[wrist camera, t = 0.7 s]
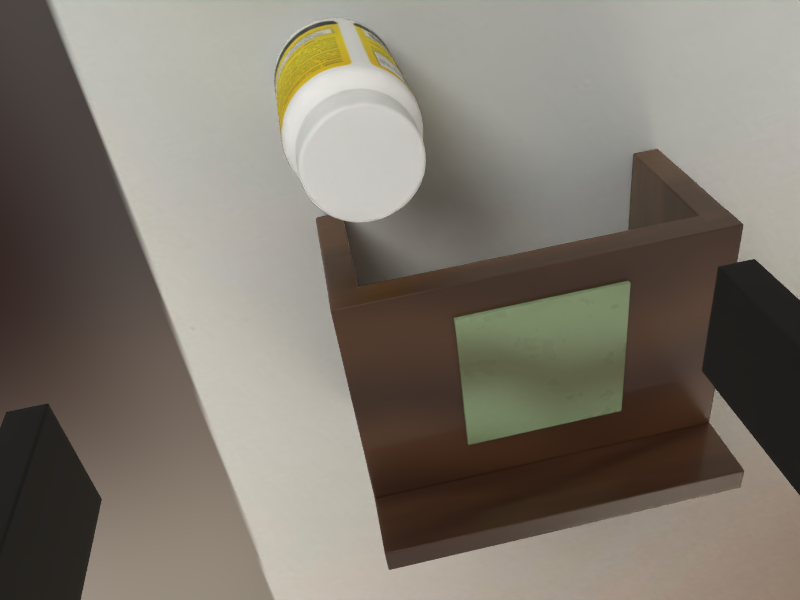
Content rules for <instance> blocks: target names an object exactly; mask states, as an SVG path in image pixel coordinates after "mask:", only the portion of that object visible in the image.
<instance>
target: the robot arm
mask: <svg viewBox="0 0 800 600" xmlns="http://www.w3.org/2000/svg"><path fill="white" fill-rule="evenodd" d="M702 372H703V373H704V374H705V376H706V377H707V378H708V379H709V381H710V382H711V383H712V385H713V386H714V387H715V388H716V390H717V391H718V392H719V393H720V395H721V396H722V397H723V399H724V400H725V401H726V402H727V404H728V405H729V406H730V407H731V409H732V410H733V411H734V413H735V414H736V415H737V416H738V418H739V419H740V420H741V421H742V423H743V424H744V425H745V426H746V428H747V429H748V430H749V432H750V433H751V434H752V435H753V437H754V438H755V439H756V440H757V442H758V443H759V444H760V446H761V447H762V448H763V449H764V451H765V452H766V453H767V454H768V456H769V457H770V458H771V459H772V461H773V462H774V463H775V465H776V466H777V467H778V468H779V470H780V471H781V472H782V473H783V475H784V476H785V477H786V479H787V480H788V481H789V482H790V484H791V485H792V486H793V487H794V489H795V490H796V491H797V492H798V494H799V495H800V300H799V299H798V298H797V297H796V296H794V295H793V294H792V293H791V292H790V291H789V290H788V289H787V288H786V287H785V286H784V285H782V284H781V283H780V282H779V281H778V280H777V279H776V278H775V277H774V276H773V275H771V274H770V273H769V272H768V271H767V270H766V269H765V268H764V267H763V266H762V265H761V264H759V263H758V262H757V261H756V260H755V259H753V260H748V261H743V262H738V263H733V264H728V265H723V266H718V270H717V276H716V283H715V289H714V295H713V302H712V308H711V314H710V321H709V327H708V333H707V340H706V346H705V352H704V359H703V365H702ZM101 500H102V499H101V497H100V495H99V494H98V492H97V490H96V488H95V486H94V485H93V483H92V481H91V479H90V477H89V476H88V474H87V472H86V471H85V469H84V467H83V465H82V463H81V462H80V460H79V458H78V456H77V454H76V452H75V451H74V449H73V447H72V445H71V443H70V442H69V440H68V438H67V436H66V435H65V433H64V431H63V429H62V428H61V426H60V424H59V422H58V420H57V418H56V417H55V415H54V413H53V411H52V410H51V408H50V406H49V404H44V405H39V406H34V407H29V408H24V409H19V410H14V411H9V412H6V415H5V417H4V419H3V422H2V425H1V427H0V600H81V595H82V590H83V585H84V581H85V576H86V571H87V566H88V562H89V557H90V552H91V548H92V543H93V538H94V533H95V529H96V523H97V519H98V514H99V510H100V505H101Z"/></svg>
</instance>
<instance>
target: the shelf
mask: <svg viewBox="0 0 800 600" xmlns="http://www.w3.org/2000/svg"><path fill="white" fill-rule="evenodd" d="M316 223H317V229H318V235H319V242H320V248H321V254H322V260H323V266H324V272H325V278H326V284H327V290H328V297H329V303H330V309H331V314H332V318H333V323H334V327H335V331H336V335H337V340H338V344H339V348H340V352H341V357H342V361H343V365H344V369H345V374H346V378H347V382H348V386H349V391H350V395H351V399H352V403H353V408H354V412H355V416H356V420H357V425H358V429H359V433H360V437H361V441H362V446H363V450H364V454H365V458H366V463H367V467H368V471H369V475H370V480H371V484H372V488H373V492H374V497H375V502H376V507H377V513H378V518H379V524H380V529H381V535H382V540H383V546H384V551H385V556H386V560H387V564H388V569H389V570H391V569H395V568H400V567H404V566H408V565H413V564H417V563H421V562H425V561H430V560H434V559H438V558H442V557H447V556H451V555H455V554H460V553H464V552H468V551H472V550H477V549H481V548H485V547H490V546H494V545H498V544H502V543H507V542H511V541H515V540H519V539H524V538H528V537H532V536H537V535H541V534H545V533H549V532H554V531H558V530H562V529H567V528H571V527H575V526H579V525H584V524H588V523H592V522H597V521H601V520H605V519H609V518H614V517H618V516H622V515H626V514H631V513H635V512H639V511H644V510H648V509H652V508H656V507H661V506H665V505H669V504H674V503H678V502H682V501H686V500H691V499H695V498H699V497H704V496H708V495H712V494H716V493H721V492H725V491H729V490H733V489H738V488H740V487H741V482H742V478H743V474H744V470H743V468H742V467H741V466H740V464H739V463H738V462H737V460H736V459H735V457H734V456H733V455H732V453H731V452H730V451H729V449H728V448H727V446H726V445H725V444H724V442H723V441H722V440H721V438H720V437H719V435H718V434H717V433H716V431H715V430H714V429H713V427H712V426H711V424H710V423H709V419H710V413H711V407H712V402H713V396H714V390H715V387H714V386H713V385H712V383H711V382H710V381H709V379H708V378H707V377H706V376H705V374H704V373H703V372H702V365H703V359H704V352H705V346H706V340H707V333H708V327H709V321H710V314H711V308H712V302H713V295H714V289H715V283H716V276H717V270H718V266H723V265H728V264H733V263H737V259H738V253H739V247H740V242H741V236H742V230H743V224H742V223H741V222H740V221H739V220H738V219H737V218H736V217H735V216H733V215H732V214H731V213H730V212H729V211H728V210H726V209H725V208H724V207H723V206H722V205H720V204H719V203H718V202H717V201H716V200H715V199H714V198H713V197H711V196H710V195H709V194H708V193H707V192H706V191H705V190H704V189H702V188H701V187H700V186H699V185H698V184H697V183H696V182H694V181H693V180H692V179H691V178H690V177H689V176H688V175H687V174H685V173H684V172H683V171H682V170H681V169H680V168H679V167H678V166H676V165H675V164H674V163H673V162H672V161H671V160H670V159H668V158H667V157H666V156H665V155H664V154H663V153H662V152H661V151H659V150H658V149H654V150H649V151H644V152H639V153H635V154H634V155H633V170H632V185H631V200H630V215H629V230H628V231H624V232H619V233H614V234H609V235H605V236H600V237H595V238H590V239H585V240H581V241H576V242H571V243H566V244H561V245H557V246H552V247H547V248H542V249H537V250H533V251H528V252H523V253H518V254H513V255H509V256H504V257H499V258H494V259H489V260H485V261H480V262H475V263H470V264H465V265H460V266H456V267H451V268H446V269H441V270H436V271H432V272H427V273H422V274H417V275H412V276H408V277H403V278H398V279H393V280H388V281H384V282H379V283H374V284H369V285H364V286H360V287H359V286H358V281H357V277H356V272H355V268H354V264H353V259H352V255H351V250H350V246H349V241H348V237H347V233H346V228H345V224H344V221H343V220H340V219H337V218H334V217H332V216H330V215H327V216H322V217H317V218H316Z"/></svg>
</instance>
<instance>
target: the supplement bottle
mask: <svg viewBox="0 0 800 600" xmlns="http://www.w3.org/2000/svg"><path fill="white" fill-rule="evenodd" d="M275 92H276V99H277V107H278V115H279V123H280V130H281V139H282V145H283V150H284V153H285V156H286V158H287V161H288V163H289V165H290V166H291V168H292V170H293V171H294V173H295V174H296V175H297V176H298V177H299V179H300V180H301V183H302V186H303V188H304V190H305V192H306V194H307V195H308V197H309V198H310V199H311V201H312V202H313V203H314V204H315V205H316V206H317V207H318V208H319V209H321V210H322V211H323V212H325V213H326V214H328V215H330V216H332V217H334V218H337V219H340V220H343V221H348V222H361V223H362V222H371V221H376V220H379V219H382V218H385V217H387V216H390V215H391V214H393V213H395V212H397V211H398V210H399V209H401V208H402V207H404V206H405V205H406V204H407V203H408V202H409V201H410V200H411V198H412V197H413V196H414V195H415V193H416V192H417V190H418V188H419V186H420V184H421V182H422V179H423V176H424V173H425V167H426V152H425V147H424V143H423V122H422V116H421V112H420V109H419V106H418V103H417V101H416V99H415V97H414V95H413V94H412V92H411V90H410V88H409V87H408V85H407V83H406V81H405V80H404V78H403V76H402V74H401V72H400V70H399V69H398V67H397V65H396V63H395V62H394V60H393V58H392V56H391V54H390V52H389V51H388V49H387V47H386V46H385V44H384V43H383V42H382V40H381V39H380V38H379V37H378V36H377V35H376V34H375V33H374V32H373V31H372V30H370V29H369V28H367V27H366V26H364V25H362V24H360V23H358V22H355V21H352V20H348V19H343V18H328V19H322V20H318V21H314V22H311V23H309V24H307V25H305V26H303V27H302V28H300V29H299V30H298V31H296V32H295V33H294V34H293V35H292V36H291V37H290V38H289V39H288V41H287V42H286V43H285V45H284V46H283V48H282V50H281V52H280V54H279V57H278V60H277V64H276V68H275Z"/></svg>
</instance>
